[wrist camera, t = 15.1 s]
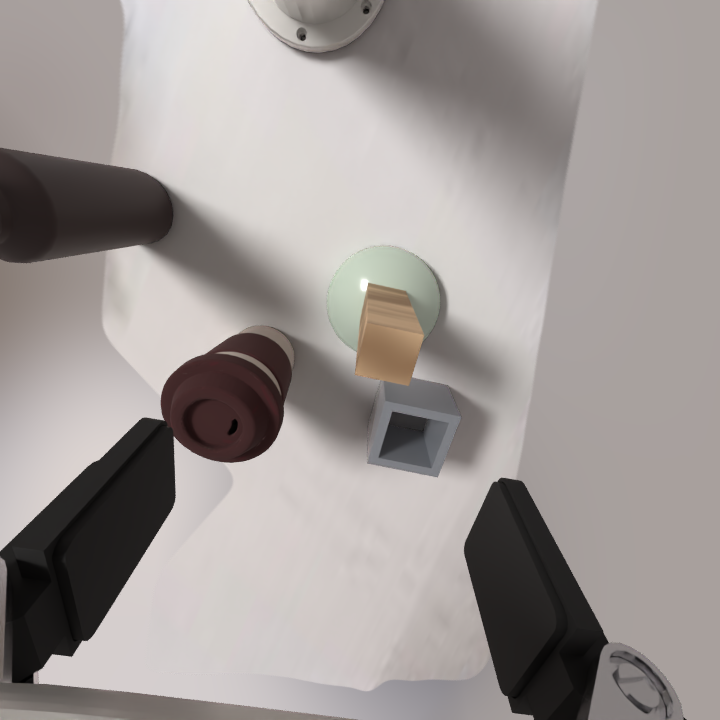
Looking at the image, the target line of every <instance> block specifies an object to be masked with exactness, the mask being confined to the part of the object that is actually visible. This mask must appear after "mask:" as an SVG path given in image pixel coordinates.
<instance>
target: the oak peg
mask: <svg viewBox="0 0 720 720" xmlns="http://www.w3.org/2000/svg"><path fill="white" fill-rule="evenodd" d="M423 338H424V333H423V331H422V328H421V326H420V324H419V321H418V319H417V317H416V314H415V312H414V309H413V307H412V305H411V302H410V300H409V298H408V295H407V293H406V291H404V290H400V289H395V288H390V287H386V286H381V285H377V284H372V283H368V286H367V290H366V295H365V299H364V304H363V308H362V313H361V317H360V325H359V336H358V347H357V358H356V369H355V375H358V376H363V377H368V378H373V379H377V380H382V381H387V382H392V383H397V384H402V385H407V386H409V384H410V381H411V377H412V374H413V371H414V367H415V364H416V361H417V358H418V354H419V351H420V348H421V344H422V341H423Z"/></svg>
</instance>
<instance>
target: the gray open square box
mask: <svg viewBox="0 0 720 720" xmlns="http://www.w3.org/2000/svg"><path fill="white" fill-rule="evenodd" d="M392 411H393V412H398V413H403V414H408V415H413V416H417V417H422V418H427V421H426V424H425V427H424V430H423V431H418V430H413V429H408V428H403V427H399V426H394V425H389V421H390V417H391V414H392ZM460 420H461V415H460V412H459V410H458V408H457V405H456V403H455V401H454V398H453V396H452V394H451V392H450V389H449V387H448V385H444V384H439V383H434V382H430V381H425V380H420V379H416V378H411V381H410V384H409V386H407V385H402V384H397V383H392V382H387V381H382V380H380V384H379V387H378V391H377V395H376V398H375V402H374V405H373V409H372V413H371V416H370V420H369V424H368V432H367V463H368V464H373V465H378V466H383V467H388V468H393V469H398V470H403V471H408V472H414V473H419V474H424V475H429V476H434V477H438V475H439V473H440V470H441V468H442V465H443V463H444V460H445V458H446V455H447V453H448V450H449V447H450V445H451V442H452V440H453V437H454V435H455V432H456V430H457V427H458V425H459V422H460Z"/></svg>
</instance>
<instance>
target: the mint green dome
mask: <svg viewBox="0 0 720 720" xmlns="http://www.w3.org/2000/svg"><path fill="white" fill-rule="evenodd" d="M368 283H372V284H377V285H381V286H386V287H390V288H395V289H400V290H404V291H406V293H407V295H408V298H409V300H410V302H411V305H412V307H413V309H414V312H415V314H416V317H417V319H418V321H419V324H420V326H421V328H422V331H423V333H424V338H423V341H424V340H425V339H426V338H427V337H428V335H429V334H430V332H431V331H432V329H433V327H434V326H435V323H436V321H437V318H438V315H439V310H440V293H439V288H438V284H437V281H436V279H435V277H434V275H433V273H432V272H431V270H430V269H429V268H428V267H427V265H426V264H425V263H424V262H423V261H422V260H421V259H420V258H418V257H417V256H416V255H414V254H413V253H411V252H409V251H407V250H405V249H402V248H399V247H394V246H374V247H370V248H366V249H364V250H361V251H359V252H357V253H356V254H354V255H352V256H351V257H350V258H348V259H347V260H346V261H345V262H344V263H343V264H342V265H341V266H340V268H339V269H338V270H337V272H336V274H335V275H334V277H333V279H332V282H331V284H330V287H329V290H328V296H327V311H328V316H329V320H330V323H331V325H332V327H333V329H334V331H335V333H336V334H337V335H338V337H339V338H340V339H341V340H342V341H343V342H344V343H345V344H346V345H347V346H349V347H350V348H351V349H353V350H355V351H356V352H357V347H358V336H359V325H360V317H361V313H362V308H363V304H364V299H365V295H366V290H367V286H368ZM423 341H422V342H423Z"/></svg>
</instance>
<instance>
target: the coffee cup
mask: <svg viewBox="0 0 720 720" xmlns="http://www.w3.org/2000/svg"><path fill="white" fill-rule="evenodd" d="M293 366H294V351H293V348H292V345H291V343H290V342H289V340H288V339H287V338H286V337H285V336H284V335H283V334H282V333H281V332H279V331H278V330H276V329H274V328H271V327H268V326H253V327H249V328H246V329H244V330H243V331H241V332H240V333H239V334H237V335H234V336H232V337H230V338H228V339H226V340H225V341H224V342H222V343H221V344H219V345H218V346H216V347H215V348H213V349H212V350H211V351H209V352H208V353H206V354H205V355H201V356H198V357H195V358H193V359H191V360H189V361H187V362H186V363H184V364H183V365H182V366H181V367H179V368H178V369H177V370H176V371H175V372H174V373H173V374H172V375H171V376H170V377H169V378H168V380H167V381H166V383H165V385H164V388H163V391H162V395H161V409H162V415H163V418H164V420H165V421H166V422H167V424H168V427H171V428H172V429H173V436H174V437H175V438H176V439H177V440H178V441H179V442H180V443H181V444H182V445H183V446H184V447H186V448H187V449H189V450H191V451H192V452H193V453H195V454H197V455H199V456H202V457H204V458H207V459H210V460H214V461H219V462H229V463H233V462H242V461H246V460H250V459H252V458H255V457H257V456H259V455H261V454H262V453H264V452H265V451H266V450H267V449H268V448H269V447H270V446H271V445H272V444H273V442H274V441H275V439H276V438H277V435H278V433H279V431H280V428H281V425H282V422H283V417H284V407H283V405H284V402H285V399H286V395H287V392H288V388H289V385H290V382H291V377H292V369H293Z"/></svg>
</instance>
